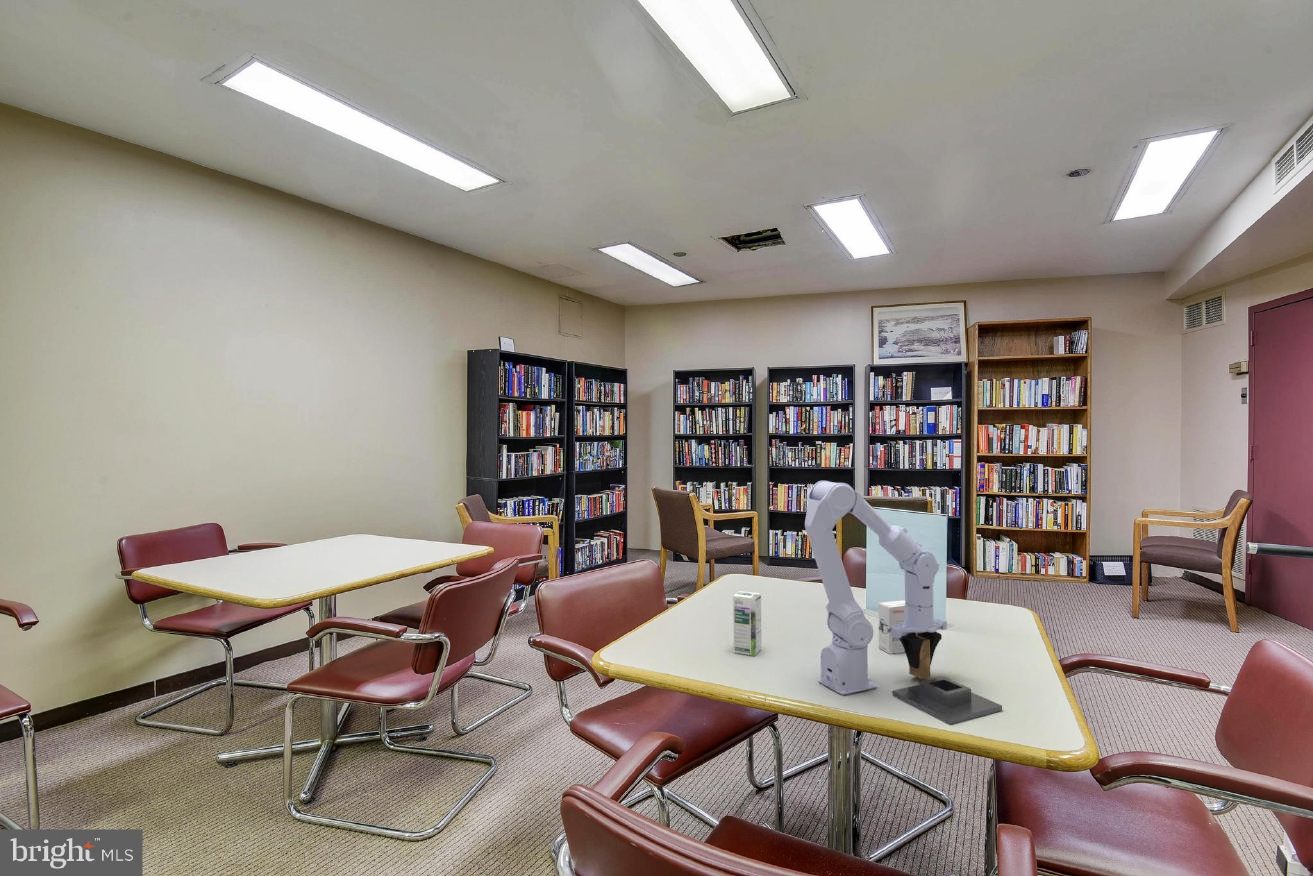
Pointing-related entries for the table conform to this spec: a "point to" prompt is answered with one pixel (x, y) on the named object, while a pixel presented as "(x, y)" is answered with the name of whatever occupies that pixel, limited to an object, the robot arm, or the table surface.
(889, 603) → the ink box
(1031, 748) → the table surface
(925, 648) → the oak peg
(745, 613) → the syrup box
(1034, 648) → the table surface
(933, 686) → the socket plate
